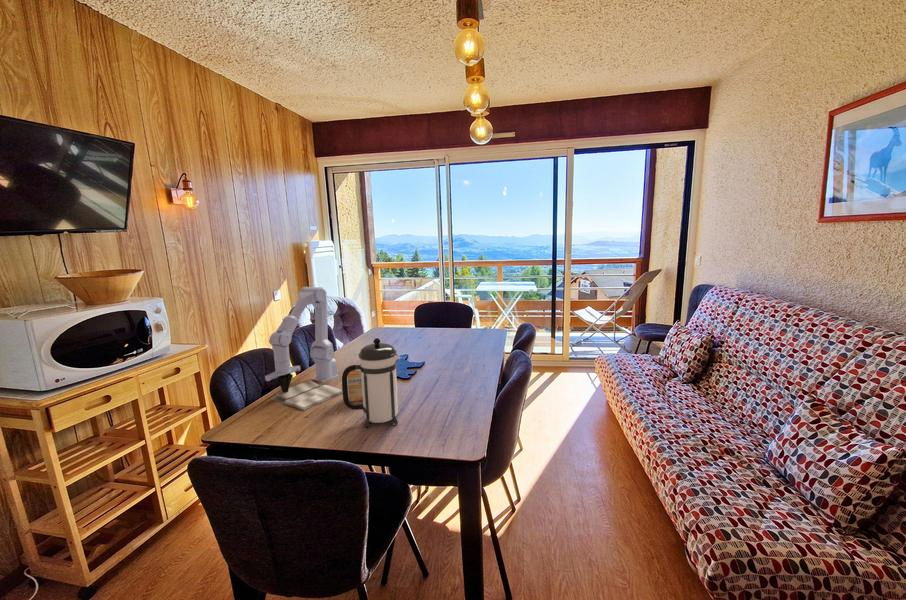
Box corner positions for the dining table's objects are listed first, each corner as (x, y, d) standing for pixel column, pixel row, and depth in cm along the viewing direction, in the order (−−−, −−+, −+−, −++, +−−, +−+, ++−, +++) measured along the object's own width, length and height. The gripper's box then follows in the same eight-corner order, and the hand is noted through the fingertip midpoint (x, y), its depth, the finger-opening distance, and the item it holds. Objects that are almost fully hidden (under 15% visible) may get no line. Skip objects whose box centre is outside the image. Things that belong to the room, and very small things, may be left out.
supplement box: (348, 402, 145) (346, 371, 143) (348, 397, 149) (346, 367, 147) (369, 399, 147) (368, 368, 145) (369, 395, 151) (367, 365, 149)
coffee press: (382, 406, 141) (377, 330, 136) (411, 417, 131) (407, 336, 126) (343, 423, 128) (337, 340, 123) (372, 438, 117) (366, 348, 113)
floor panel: (312, 383, 166) (312, 380, 166) (345, 393, 154) (345, 389, 154) (270, 399, 149) (270, 396, 149) (303, 412, 137) (303, 408, 137)
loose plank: (309, 382, 163) (309, 380, 163) (319, 387, 160) (319, 385, 160) (276, 395, 150) (276, 392, 150) (286, 401, 146) (286, 398, 146)
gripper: (292, 354, 157) (295, 384, 160) (259, 364, 145) (263, 396, 147) (302, 356, 154) (305, 387, 156) (269, 366, 142) (273, 399, 144)
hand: (285, 391), depth 151 cm, fingers closed, pressing on loose plank
